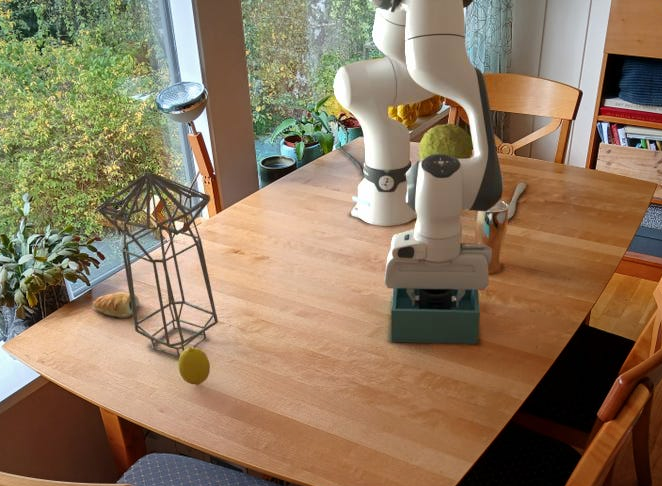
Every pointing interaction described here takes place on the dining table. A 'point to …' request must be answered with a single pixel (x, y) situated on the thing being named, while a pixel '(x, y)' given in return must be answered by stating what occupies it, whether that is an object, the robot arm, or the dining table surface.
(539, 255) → the dining table surface
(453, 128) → the fruit
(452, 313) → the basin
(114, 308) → the pastry
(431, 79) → the robot arm
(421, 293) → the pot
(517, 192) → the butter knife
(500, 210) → the beer glass
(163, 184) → the geometric lantern
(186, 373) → the lemon
